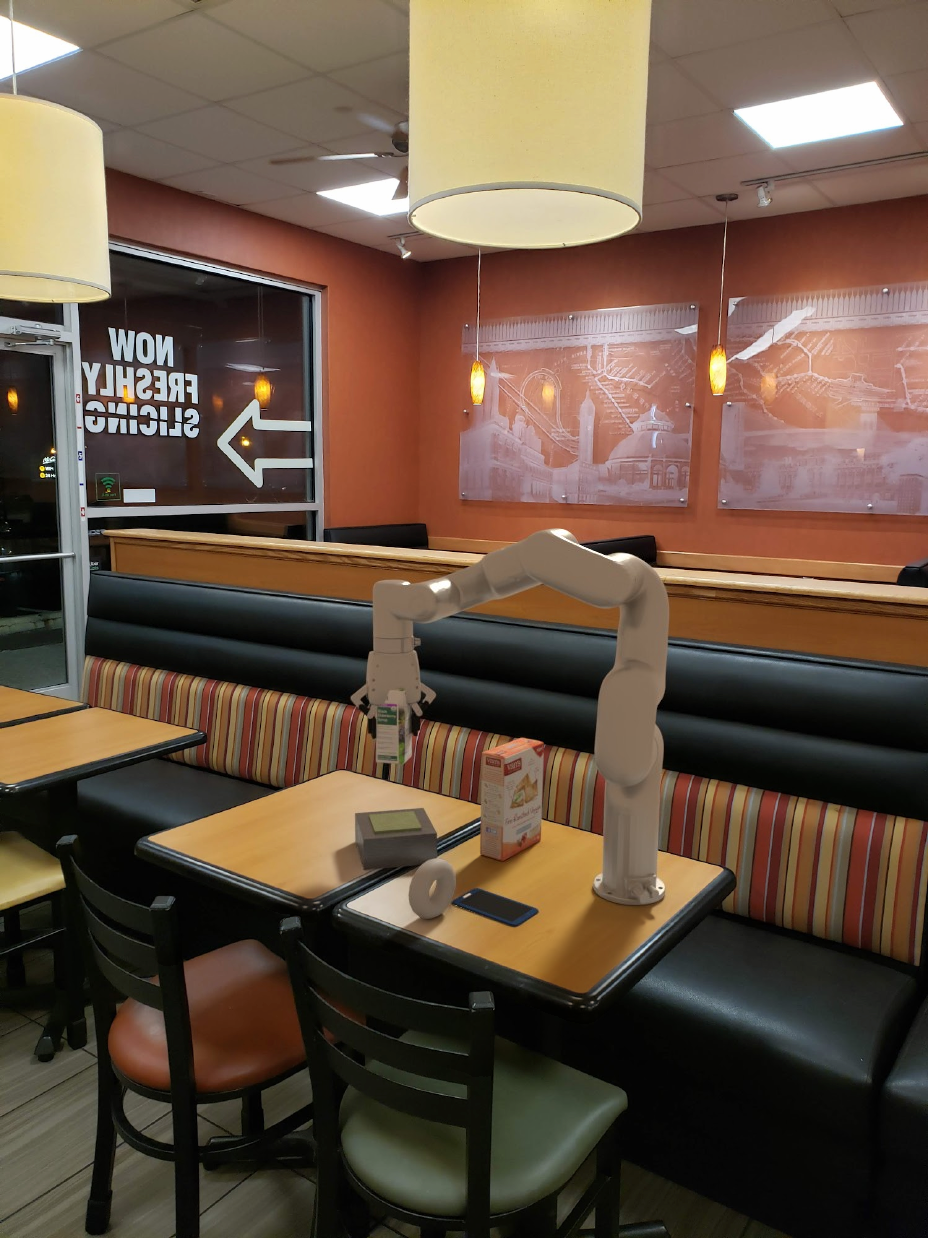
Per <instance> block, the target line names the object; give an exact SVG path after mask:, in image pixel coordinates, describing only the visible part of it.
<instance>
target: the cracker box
mask: <svg viewBox="0 0 928 1238" xmlns="http://www.w3.org/2000/svg"><path fill="white" fill-rule="evenodd" d="M544 749H545V743H544V742H543V741H540V740H537V739H532V738H531V739H530V738H526V737H520V738H517V739H514V740H511V741H509V742H506V743H504V744H501V745H498V746H496V747H493V748H491V749H488V750H485V751H483V752H481V783H480V784H481V788H480V789H481V790H480V791H481V792H480V793H481V794H480V844H479V849H480V850H479V851H480V852H479V854H480V855H481V856H485V857H487V858H491V859H494V860H497V861H500V862H504V861H505V860H508V859H509V858H511V857H512V856H515V855H516V854H518V853H520V852H522V851H523V850H525V849H527V848H529V847H531V846H532V845H534V844H536V843H539V842H540V841H541V840H542V815H543V787H544V786H543V781H544V759H545V757H544V756H545V755H544V753H545V752H544V751H545V750H544Z"/></svg>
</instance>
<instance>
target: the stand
mask: <svg viewBox="0 0 928 1238" xmlns="http://www.w3.org/2000/svg"><path fill="white" fill-rule="evenodd" d="M354 832H355V834H354V835H355V836H354V837H355V838H354V840H355V841H354V842H355V845H356V848H357V852H358V855H359V859H360V862H361V866H362V869H363V871H366V870H368V871H369V870H370V871H371V870H378V869H390V868H399V867H411V866H421V865H422V864H423V863H425V862H427V861H428V860H431V859H435V858H438V832H437V831H436V829H435V827H434V825H433V823H432V821H431V819H430V817H429V816H428V814H427V812H426V810H425V808H424V807H415V808H406V809H393V810H380V811H378V810H377V811H368V812H367V811H366V812H355V813H354Z"/></svg>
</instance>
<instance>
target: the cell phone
mask: <svg viewBox="0 0 928 1238" xmlns="http://www.w3.org/2000/svg"><path fill="white" fill-rule="evenodd" d="M450 904H451V905H452V906H455V905H457V906H458V908H460V907H462V908H461V909H463V908H464V909H463V910H465V911H468V910H470V911H469V912H471V911H472V912H471V913H474V912H475V914H477V915H480V916H482V915H483V917H485V918H487V919H491V920H493V921H496V922H499V923H502V924H504V925H506V926H510V927H514V928H515V927H516V928H517V927H519V926H521V925H522V924H524V923H525V922H527V921H528V920H530V919H532V918H534V917H535V916H536V915H538V914H539V909H538V908H537V907H534V906H531V905H529V904H526V903H523V902H519V901H517V900H514V899H510V898H509V897H505V896H503V895H499V894H497V893H494V892H490V891H488V890H485V889H481V888H479V887H475V888H472V889H470V890H469V891H466V892H465V893H463V894H462V895H459V896H458V897H456V898H454V899H452V900H451V902H450ZM457 906H456V907H457Z"/></svg>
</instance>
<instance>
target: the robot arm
mask: <svg viewBox="0 0 928 1238" xmlns="http://www.w3.org/2000/svg"><path fill="white" fill-rule="evenodd" d="M541 585H544V586H546V587H548V588H551V589H552V590H555V591H557V592H559V593H562V594H563V595H566V596H569V597H571V598H573V599H576V600H577V601H580V602H582V603H585V604H587V605H590V606H593V607H595V608H598V609H604V610H605V609H606V610H608V609H613V608H619V622H618V627H617V636H616V639H617V641H616V642H617V643H616V653H615V661H614V665H613V667H612V669H610V671H609V672H608V673H607V674H606V676H605V677H604V679H603V680H602V683H601V685H600V688H599V693H598V702H597V714H596V715H597V716H596V728H595V737H594V739H595V740H594V761H595V765H596V769H597V770H598V772H599V774H600V775H601V776H602V778H604V780H605V784H604V804H603V805H604V806H603V832H602V833H603V834H602V835H603V836H602V838H603V839H602V843H603V844H602V870H601V871H602V872H601V873H599V874H598V875H596V877H594V879H593V881H592V887H593V890H594V892H595V893H596V894H597V895H598V896H600V897H601V898H602V899H605V900H607V901H609V902H612V903H616V904H618V905H619V904H620V905H626V906H643V905H644V906H645V905H650V904H654V903H656V902H659V901H660V900H662V899H663V898H664V896H665V895H666V885H665V883H664V881H662V879H660V878H659V877H657V876H658V853H659V852H658V851H659V828H660V827H659V825H660V806H661V805H660V802H661V782H662V773H663V763H664V762H663V761H664V751H665V750H664V739H663V738H664V737H663V735H662V731H661V730H660V728H659V726H658V725H657V724H656V719H657V710H658V709H657V708H658V705H659V704H660V702H661V700H663V698H664V696H665V695H664V694H665V690H666V673H667V661H668V660H667V658H668V645H669V642H668V641H669V638H668V637H669V626H670V624H669V623H670V604H669V597H668V592H667V589H666V585H665V584H664V582H663V580H662V578H661V576H660V575H659V574H658V572H657V571H656V570H655V569H654V568H653V567H652V566H651V565H650V564H648V563H647V562H645V560H642V559H641V558H639V557H638V556H635V555H633V554H630V553H625V552H615V553H611V554H608V555H607V554H605V555H604V554H602V553H599V552H597V551H594V550H592V549H589V548H587V547H584V546H582V545H580V544H579V542H578V539H577V538H576V537H575V535H574V534H572V533H571V532H570V531H568V530H566V529H562V528H558V527H557V528H549V529H543V530H542V529H541V530H537V531H536V532H533V533H532V534H530V535H529V536H528V537H527V538H524V539H522V540H519V541H517V542H514V543H512V544H509V545H506V546H504V547H501V548H498V549H496V550H493V551H491V552H488V553H487V554H485V555H484V556H483V557H482V558H481V559H480V560H479V561H478V562H475V563H474V564H472V565H470V566H468V567H465V568H462V569H460V570H457V571H455V572H452V573H450V574H447V575H444V576H441V577H439V578H434V579H429V580H426V581H421V582H416V583H411V582H409V581H407V580H402V579H384V580H379V581H376V582H375V583H374V585H373V587H372V627H373V628H372V631H373V635H372V638H373V650H372V651H369V653H368V658H367V666H366V667H367V668H366V676H365V677H366V679H365V680H366V681H365V682H366V683H365V684H364V685H363V686H362V687H361V688H359V689H358V690H357V691H356V692H355V693H353V694H352V695H351V696H350V701H351V702H352V703H353V704H354V705H355V706H356V707H357V708H358V709H359V711H360V712H361V713H362V714H363V715H365V716H366V717H367V718H366V719H367V727H366V729H367V734H368V735H370V736H371V738H372V740H376V711H377V707H378V706H380V705H383V704H384V703H385V701H386V698H387V695H388V693H389V691H390V690H396V689H405V691H406V703H407V704H410V705H411V707H412V736H414V737H418V733H419V732H420V731H421V716H423V713H424V712H425V711H426V710H427V709H428V708H429V707H430V705H431V703H432V702H433V701H434V699H435V698H436V697H437V694H436V692H435V691H434V690H432V689H431V688H430V687H428V686H426V685H425V684H424V683H422V682H421V674H420V673H421V672H420V665H419V659H418V653H417V651H416V650H414V649H415V647H417V646H421V640H422V639H421V638H417V637H415V636H414V623H418V624H430V623H433V622H436V621H438V620H441V619H444V618H447V617H451V616H452V615H455V614H457V613H461V612H464V611H465V610H468V609H471V608H473V607H476V606H480V605H482V604H484V603H487V602H491V601H494V600H502V599H505V598H507V597H511V596H514V595H516V594H518V593H521V592H524V591H526V590H529V589H532V588H535V587H537V586H541ZM422 693H423V694H425V697H424V699H422V701H421V697H422ZM364 696H366V699H367V700H368V701H369V704H368V706H367V705H366V704H365V703H363V701H362V700H361V699H362V698H363V697H364ZM419 701H421V702H419ZM418 703H419V704H418Z"/></svg>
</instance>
